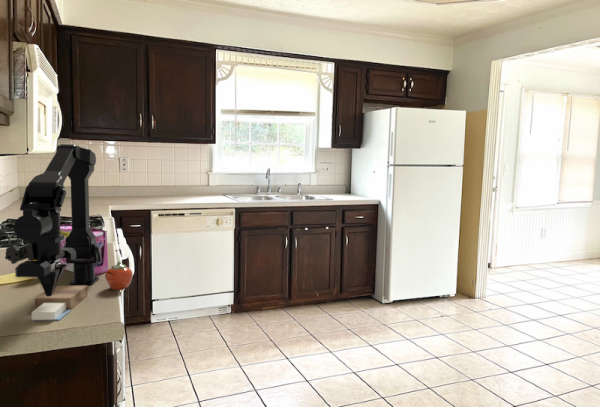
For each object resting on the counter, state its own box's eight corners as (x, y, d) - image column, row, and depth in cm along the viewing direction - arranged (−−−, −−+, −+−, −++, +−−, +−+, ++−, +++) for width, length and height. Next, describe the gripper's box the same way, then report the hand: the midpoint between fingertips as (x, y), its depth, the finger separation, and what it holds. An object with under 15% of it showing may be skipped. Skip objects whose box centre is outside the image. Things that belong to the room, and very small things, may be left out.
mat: (43, 310, 113) (43, 309, 113) (71, 310, 113) (71, 309, 113) (30, 320, 106) (30, 319, 106) (59, 320, 107) (59, 319, 107)
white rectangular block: (44, 309, 113) (44, 302, 113) (66, 309, 113) (65, 302, 113) (31, 319, 106) (31, 312, 106) (54, 319, 107) (54, 312, 106)
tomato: (101, 287, 132) (100, 260, 132) (126, 283, 138) (126, 257, 137) (111, 294, 127) (111, 265, 126) (137, 288, 132) (137, 261, 131)
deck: (55, 296, 124) (54, 285, 124) (87, 296, 125) (87, 285, 124) (35, 310, 113) (34, 298, 113) (70, 310, 114) (70, 298, 113)
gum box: (111, 272, 149) (110, 231, 148) (88, 277, 143) (87, 234, 141) (71, 260, 162) (70, 223, 161) (48, 265, 156) (47, 225, 154)
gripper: (31, 225, 118) (33, 284, 120) (-12, 239, 100) (-8, 309, 101) (76, 226, 119) (77, 284, 121) (41, 240, 101) (44, 309, 102)
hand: (49, 295), depth 111 cm, fingers closed
